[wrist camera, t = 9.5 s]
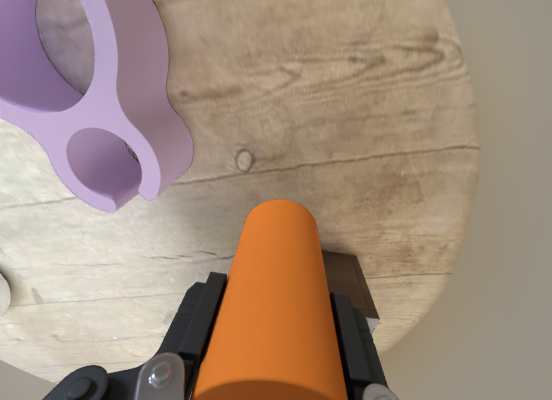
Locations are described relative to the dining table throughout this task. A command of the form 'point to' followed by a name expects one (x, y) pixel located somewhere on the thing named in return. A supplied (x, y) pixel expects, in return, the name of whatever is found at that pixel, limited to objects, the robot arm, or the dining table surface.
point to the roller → (274, 316)
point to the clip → (98, 103)
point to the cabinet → (350, 283)
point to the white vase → (4, 296)
